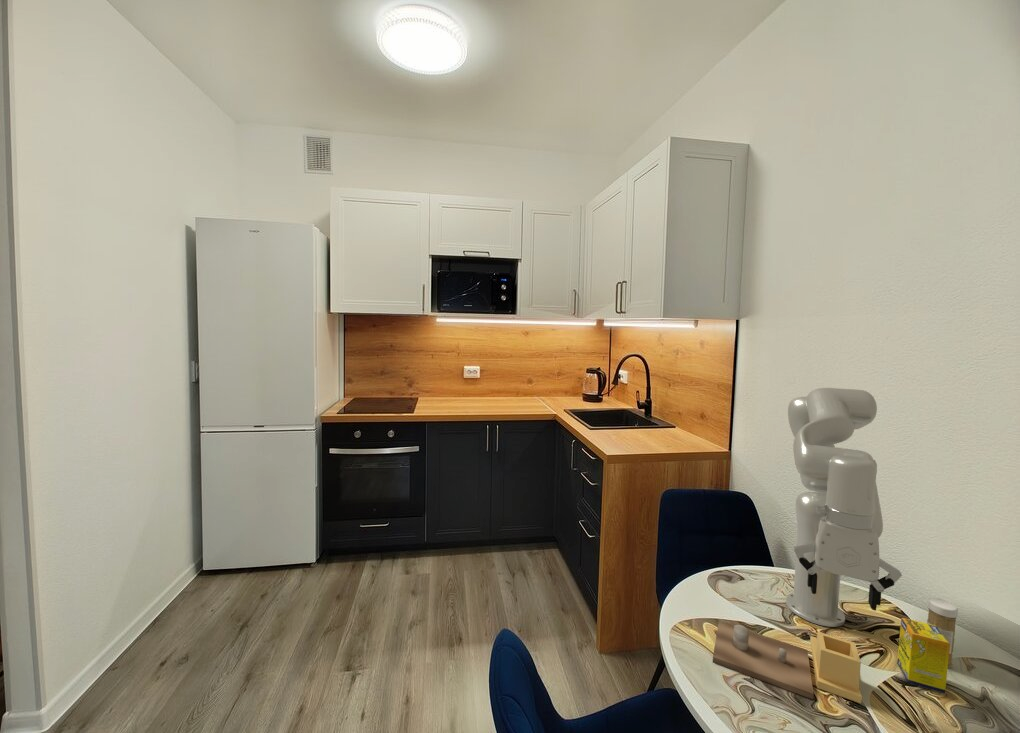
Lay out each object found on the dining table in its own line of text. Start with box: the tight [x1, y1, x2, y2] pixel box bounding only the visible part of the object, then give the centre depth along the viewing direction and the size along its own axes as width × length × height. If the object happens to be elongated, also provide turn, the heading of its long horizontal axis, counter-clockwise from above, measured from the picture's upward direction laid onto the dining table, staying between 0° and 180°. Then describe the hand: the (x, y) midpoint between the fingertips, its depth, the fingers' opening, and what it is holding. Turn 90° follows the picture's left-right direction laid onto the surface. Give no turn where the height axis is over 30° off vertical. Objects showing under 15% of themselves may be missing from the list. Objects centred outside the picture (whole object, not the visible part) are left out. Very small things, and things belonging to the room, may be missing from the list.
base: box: [712, 620, 814, 700], centre depth 94 cm, size 14×18×5 cm
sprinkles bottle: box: [926, 597, 959, 668], centre depth 94 cm, size 5×5×14 cm
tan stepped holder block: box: [809, 631, 862, 704], centre depth 91 cm, size 16×7×8 cm, turn 149°
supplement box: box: [896, 617, 950, 694], centre depth 89 cm, size 6×6×11 cm
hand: (841, 598), depth 87 cm, fingers open, 9 cm apart
